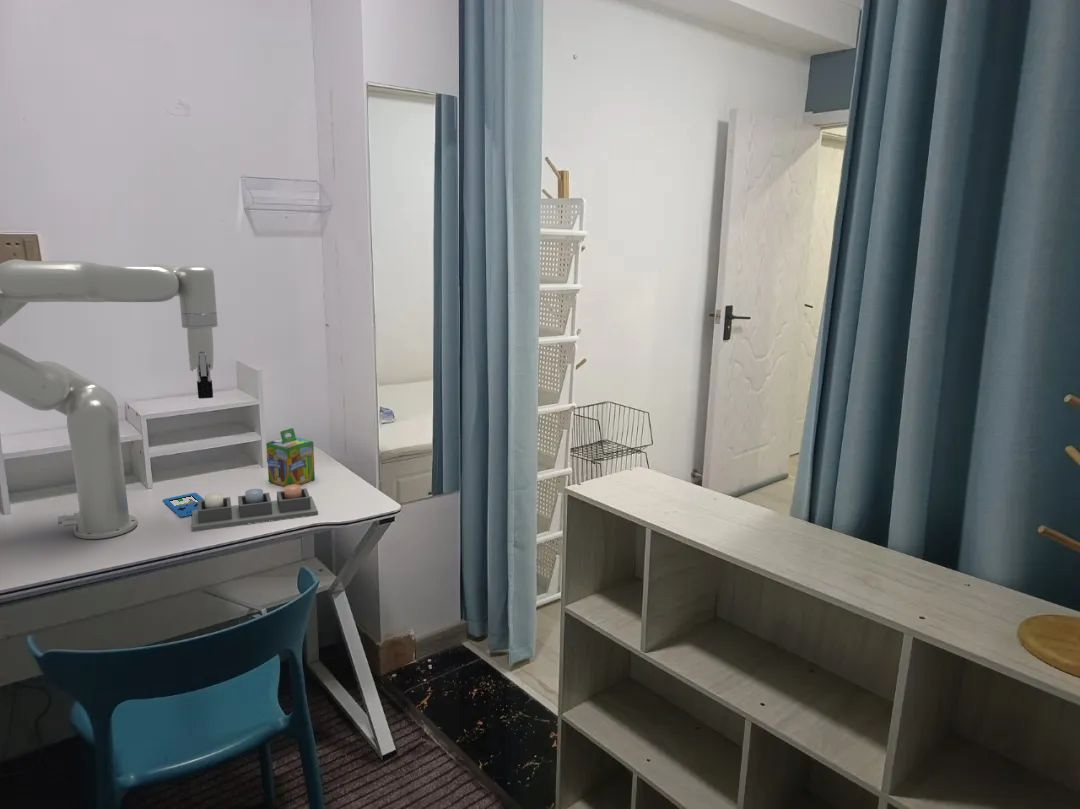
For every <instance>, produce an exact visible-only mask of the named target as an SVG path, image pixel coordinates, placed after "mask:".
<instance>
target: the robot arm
mask: <svg viewBox="0 0 1080 809" xmlns="http://www.w3.org/2000/svg"><path fill="white" fill-rule="evenodd" d="M215 288H216V287H215V274H214V271H213V269H212V267H209V266H206V265H184V266H174V265H173V266H170V265H163V264H151V265H148V266H119V265H104V264H98V263H95V262H89V261H78V260H77V261H74V260H73V261H69V260H68V261H63V260H62V261H61V260H60V261H59V260H58V261H53V260H48V261H47V260H25V259H21V258H20V259H18V258H17V259H15V258H14V259H9V260H7V261H3V262H2V263H0V327H2V326H3V324H5V323H6V322H7V321H8V320H9V319H11V318H12V317H13V316H15V315H16V314H17V313H18V312H19V311H21V309H22V308H23V307H26V305H28V303H59V302H60V303H61V302H62V303H68V302H69V303H106V302H107V303H108V302H109V303H111V302H112V303H161V302H167V301H170V300H172V299H174V298H175V297H177V296H178V297H179V298H178V299H179V306H180V319H181V328H183V329H186V331H187V332H186V334H187V335H186V336H187V347H188V348H187V350H188V362H189V370H190V371H191V372H194V370H196V372H197V373H196V374H197V381H196V385H197V386H196V387H197V397H198V399H199V400H201V399H213V398H214V392H213V391H214V390H213V380H211V379H212V378H211V370H213V369H214V336H213V334H214V333H213V328H217V327H218V325H219V324H218V313H217V302H216V299H217V298H216V289H215ZM0 392H2V393H4V394H7V395H8V396H9V397H12V398H13V399H15V400H18V401H19V402H21V403H22V404H24V405H26V406H28V407H30V408H32V409H34V410H37V411H46V412H47V411H53V410H55V411H56V412H58V413H60V414H62V415H64V416H66V428H67V433H68V437H69V438H68V439H69V444H70V449H71V450H70V452H71V456H72V465H73V471H74V479H75V488H76V495H77V501H78V502H77V503H78V510H79V511H78V512H75V513H74V514H72V515H68V514H67V515H66V514H65V515H58V516H57V526H59V525H60V526H61V525H62V527H63V528H65V527H70V526H71V527H72V526H73V534H74V536H75V537H76V538H77V537H78V538H80V539H84V540H85V539H86V540H97V539H98V540H99V539H107V538H112V537H113V538H114V537H117V536H120V535H123V534H126V533H128V532H130V531H132V530H134V528H136V527H137V525H138V518H137V517H136V516H134V515H132V514H130V513H129V507H128V506H129V505H128V496H127V487H126V478H125V469H124V461H123V452H122V444H121V442H122V441H121V435H120V434H121V433H120V421H119V420H120V419H119V410H118V403H117V401H116V398H115V397H114V395H113V394H112V393H111V392H110V391H108V390H107V389H105V388H104V387H102V386H100V385H98V384H97V383H95V382H93V381H91V380H90V379H88V378H86V377H84V375H83V376H82V375H81V374H79V373H77V372H76V371H74V370H72V369H70V368H69V367H67V366H64V365H62V364H59V363H57V362H55V361H49V360H41V361H36V360H34V359H32V358H30V357H28V356H26V355H24V354H22V353H21V352H20V351H18V350H16V349H14V348H12V347H10V346H8V345H6V344H4V343H2V342H0Z"/></svg>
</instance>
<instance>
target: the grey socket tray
mask: <svg viewBox="0 0 1080 809" xmlns="http://www.w3.org/2000/svg"><path fill="white" fill-rule="evenodd" d="M301 491H302V498H294V499H286V500H285V491H284V490H280V491H276V500H272V499H271V495H270V492H263V500H264V502H261V503H253V504H246V496H245V494H244V495H237V497H238V498H237V500H238V504H237V505H236V504H235V505H232V504H231V503H232V502H231V497H230V496H229V497H223V504H224V507H220V508H211V509H205V499H204V500H201V501H198V510H192V516H191V518H192V519H191V520H192V522H191V530H192V532H198V531H197V530H199V531H205V530H204V529H206V530H213V528H214V529H221V528H228V527H237V526H243V525H242V524H244V525H249V524H248V523H252V524H256V523H255V522H260V523H263V522H262V521H267V522H272V521H271V520H275V521H280V520H279V519H282V520H287V519H286V518H290V519H295V518H294V517H298V518H303V517H302V516H305V517H310V515H313V516H318V515H319V510H318V509H317V506H316V503H315V501H314V498H313V496H312V495H311V496H310V494H309V491H308V489H307V488H306V487H305V488H301ZM269 520H270V521H269ZM236 525H237V526H236Z"/></svg>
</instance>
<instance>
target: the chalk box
mask: <svg viewBox="0 0 1080 809" xmlns="http://www.w3.org/2000/svg"><path fill="white" fill-rule="evenodd" d="M295 433H296V432H295V429H294V428H292V427H291V428H286V429H284V430H281V431H280V433H279V434H280V437H281V438H279V439H276V440H271V441H269V442H266V444H265V445H266V456H267V458H266V459H267V460H266V461H267V472H268V473H267V474H268V475H267V476H268V483H269V482H270V483H269V484H274V485H278V486H282V487H285V486H287V485H292V484H297V485H301V486H302V485H304V484H306V483H310V482H312V481H315V479H316V478H315V454H314V453H315V452H314V451H315V450H314V441H312V440H308V439H305V438H302V437H296V434H295ZM288 434H290V436H286V435H288Z"/></svg>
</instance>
